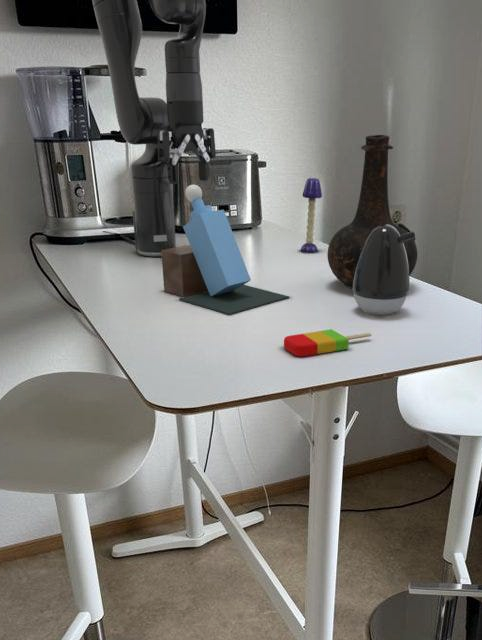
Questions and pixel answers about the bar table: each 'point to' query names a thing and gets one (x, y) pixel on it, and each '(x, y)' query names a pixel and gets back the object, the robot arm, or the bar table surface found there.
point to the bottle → (214, 246)
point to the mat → (235, 299)
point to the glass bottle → (367, 214)
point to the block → (181, 272)
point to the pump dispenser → (382, 271)
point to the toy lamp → (311, 212)
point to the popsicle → (318, 342)
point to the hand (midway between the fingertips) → (189, 182)
